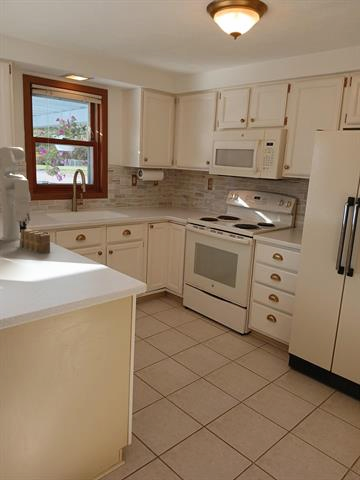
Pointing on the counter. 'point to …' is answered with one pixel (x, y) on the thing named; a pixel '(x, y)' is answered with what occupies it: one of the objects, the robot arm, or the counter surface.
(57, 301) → the counter surface
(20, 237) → the domino
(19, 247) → the board
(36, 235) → the domino
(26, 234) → the domino
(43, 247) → the domino
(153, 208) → the counter surface
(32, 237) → the domino
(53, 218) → the counter surface
